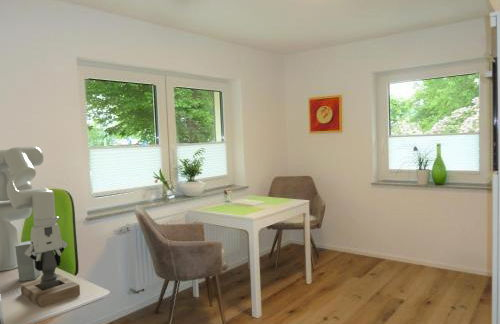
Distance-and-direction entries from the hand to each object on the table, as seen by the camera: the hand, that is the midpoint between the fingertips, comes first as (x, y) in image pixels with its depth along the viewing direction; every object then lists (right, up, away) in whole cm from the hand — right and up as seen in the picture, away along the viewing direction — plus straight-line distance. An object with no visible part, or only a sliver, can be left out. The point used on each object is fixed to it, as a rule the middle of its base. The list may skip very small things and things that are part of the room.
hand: (48, 267), depth 149 cm
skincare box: (-19, -10, +21) cm, 30 cm away
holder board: (+1, -11, +1) cm, 11 cm away
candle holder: (0, -9, +1) cm, 9 cm away
